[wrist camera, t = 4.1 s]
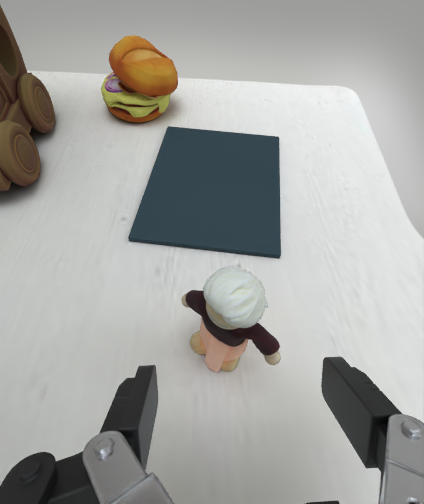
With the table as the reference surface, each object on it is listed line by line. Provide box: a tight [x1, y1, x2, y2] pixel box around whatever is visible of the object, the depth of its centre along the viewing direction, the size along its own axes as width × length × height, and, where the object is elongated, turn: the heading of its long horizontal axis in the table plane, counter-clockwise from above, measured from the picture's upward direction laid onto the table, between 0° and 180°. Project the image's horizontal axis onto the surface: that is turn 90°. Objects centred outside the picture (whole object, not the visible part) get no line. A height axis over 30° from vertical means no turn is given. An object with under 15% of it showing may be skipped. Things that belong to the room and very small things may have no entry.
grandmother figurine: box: [182, 266, 280, 372], centre depth 18 cm, size 8×4×13 cm, turn 67°
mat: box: [128, 127, 281, 258], centre depth 34 cm, size 16×20×1 cm
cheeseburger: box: [101, 36, 178, 123], centre depth 40 cm, size 10×11×10 cm
